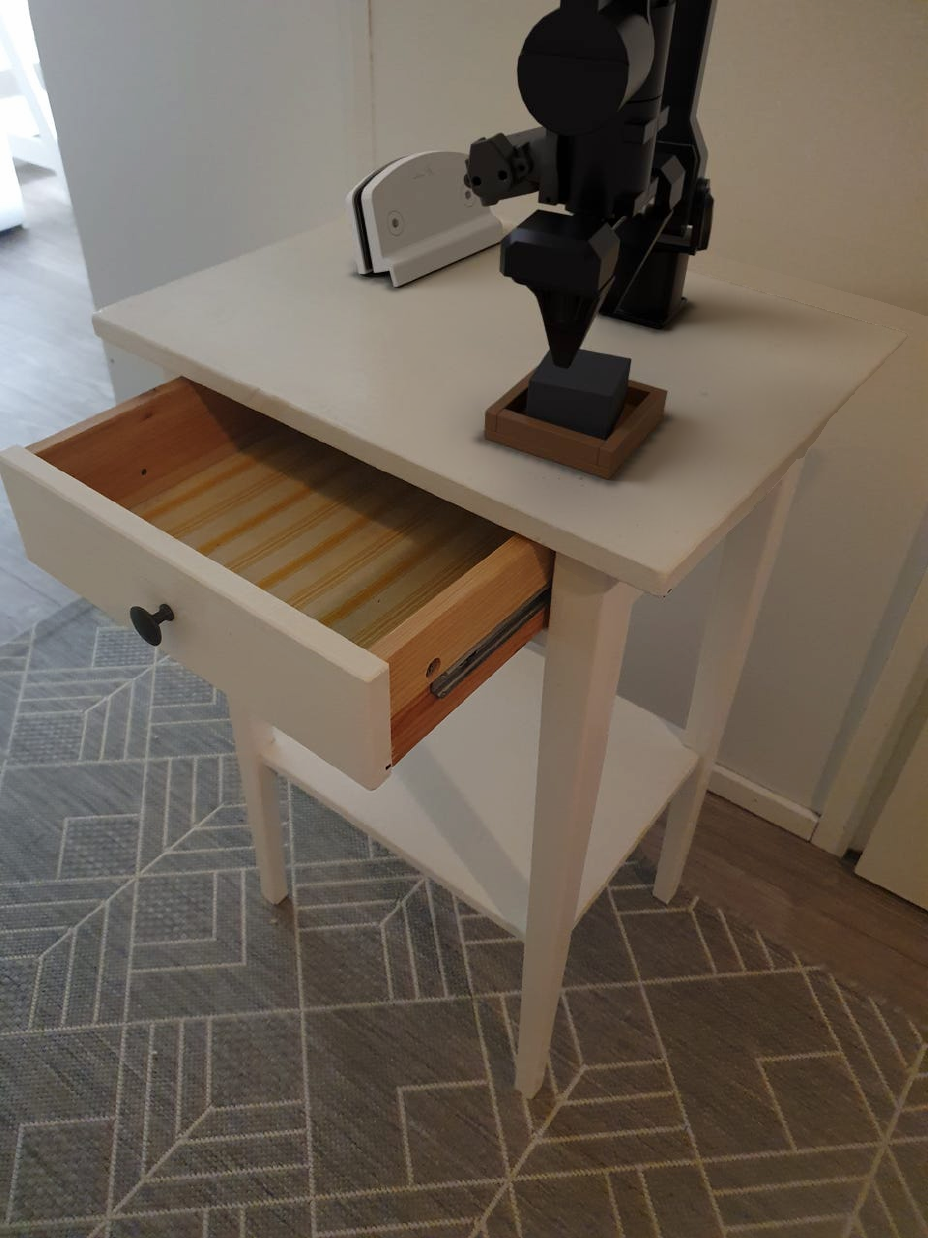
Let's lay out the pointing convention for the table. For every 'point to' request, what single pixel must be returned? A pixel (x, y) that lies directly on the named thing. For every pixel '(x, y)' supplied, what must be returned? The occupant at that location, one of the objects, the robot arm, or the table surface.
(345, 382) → the table surface
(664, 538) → the table surface
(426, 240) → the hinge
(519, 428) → the shallow brown tray
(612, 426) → the black block
